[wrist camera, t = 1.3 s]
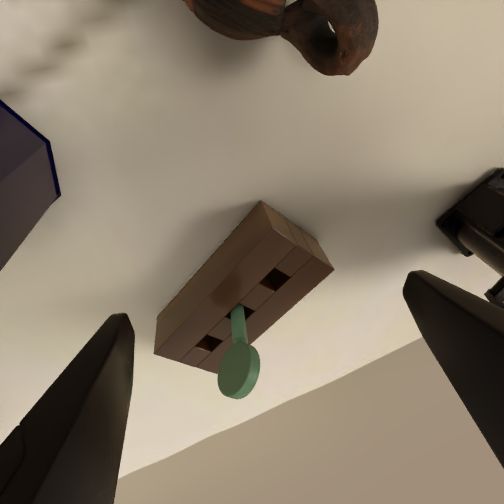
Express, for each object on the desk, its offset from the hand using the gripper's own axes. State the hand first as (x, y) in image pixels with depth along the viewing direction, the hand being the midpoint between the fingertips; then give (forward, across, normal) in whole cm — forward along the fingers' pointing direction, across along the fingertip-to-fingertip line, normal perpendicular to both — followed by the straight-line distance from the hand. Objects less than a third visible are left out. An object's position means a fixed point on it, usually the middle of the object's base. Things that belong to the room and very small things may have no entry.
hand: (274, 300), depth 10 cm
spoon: (+14, 0, +11) cm, 18 cm away
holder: (+14, 0, +11) cm, 18 cm away
